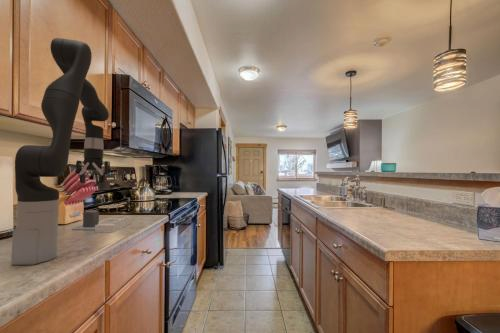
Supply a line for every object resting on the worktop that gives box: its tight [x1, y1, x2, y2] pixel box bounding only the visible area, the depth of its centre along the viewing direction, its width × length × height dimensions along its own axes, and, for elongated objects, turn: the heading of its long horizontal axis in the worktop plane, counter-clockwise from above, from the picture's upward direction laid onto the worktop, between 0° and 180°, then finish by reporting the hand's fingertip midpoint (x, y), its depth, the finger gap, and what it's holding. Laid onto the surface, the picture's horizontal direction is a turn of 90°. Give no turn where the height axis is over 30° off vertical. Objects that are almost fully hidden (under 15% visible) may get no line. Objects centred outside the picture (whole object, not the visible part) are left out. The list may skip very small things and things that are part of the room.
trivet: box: [72, 224, 95, 231], centre depth 111 cm, size 10×10×1 cm
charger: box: [82, 209, 100, 227], centre depth 111 cm, size 4×4×7 cm
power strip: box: [94, 215, 132, 233], centre depth 111 cm, size 18×7×4 cm, turn 3°
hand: (92, 183), depth 111 cm, fingers open, 8 cm apart
